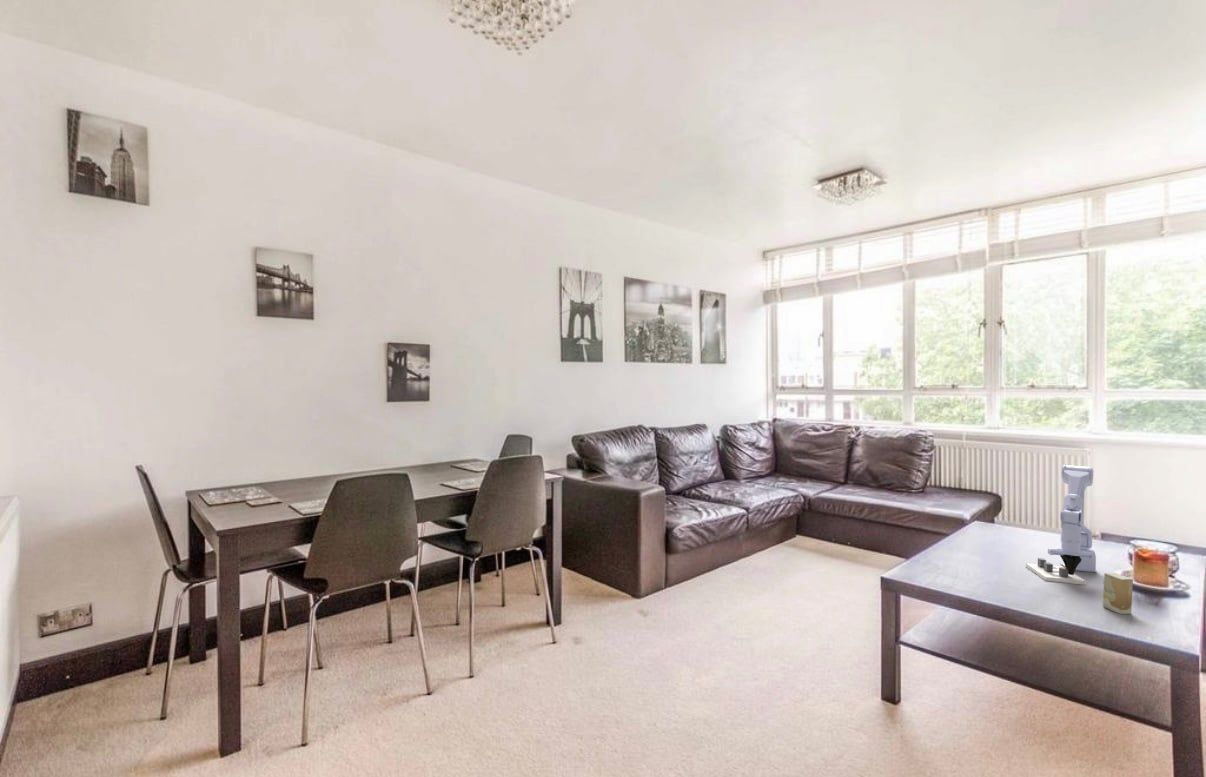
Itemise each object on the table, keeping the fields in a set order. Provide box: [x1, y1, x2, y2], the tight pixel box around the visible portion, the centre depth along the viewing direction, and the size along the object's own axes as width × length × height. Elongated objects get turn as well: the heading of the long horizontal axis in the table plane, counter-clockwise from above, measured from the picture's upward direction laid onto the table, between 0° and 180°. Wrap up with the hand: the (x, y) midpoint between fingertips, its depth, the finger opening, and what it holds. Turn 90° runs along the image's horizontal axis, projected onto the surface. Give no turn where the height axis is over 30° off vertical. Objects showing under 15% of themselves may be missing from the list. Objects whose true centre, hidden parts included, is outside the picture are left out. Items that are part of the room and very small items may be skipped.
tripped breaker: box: [1059, 566, 1068, 577], centre depth 214 cm, size 2×2×3 cm
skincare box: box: [1102, 572, 1134, 615], centre depth 186 cm, size 6×4×12 cm
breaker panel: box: [1025, 557, 1086, 585], centre depth 220 cm, size 13×17×5 cm
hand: (1070, 574), depth 213 cm, fingers closed
